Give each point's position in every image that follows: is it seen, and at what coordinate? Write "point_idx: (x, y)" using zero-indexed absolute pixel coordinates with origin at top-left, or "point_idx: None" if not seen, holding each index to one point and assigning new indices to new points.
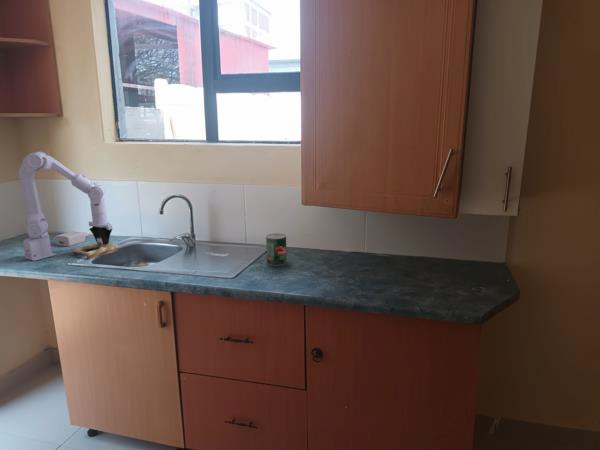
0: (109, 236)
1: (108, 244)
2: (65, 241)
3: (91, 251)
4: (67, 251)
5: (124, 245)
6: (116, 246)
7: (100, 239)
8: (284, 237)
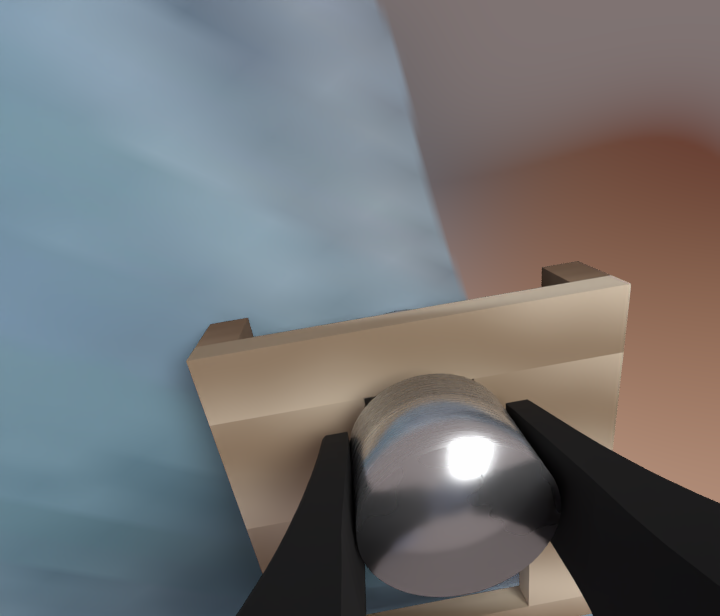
0: (650, 475)
1: (432, 353)
2: None
3: (551, 577)
4: (119, 610)
5: (380, 43)
6: (623, 309)
7: (517, 560)
8: None
